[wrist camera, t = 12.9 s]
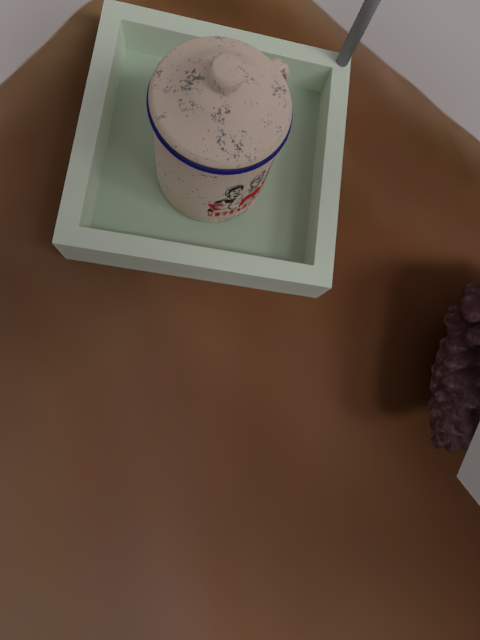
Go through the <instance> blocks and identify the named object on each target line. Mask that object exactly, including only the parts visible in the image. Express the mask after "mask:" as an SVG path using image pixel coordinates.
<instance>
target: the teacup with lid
mask: <svg viewBox="0 0 480 640" xmlns="http://www.w3.org/2000/svg"><path fill="white" fill-rule="evenodd" d="M288 76H289V67H288V65H287V64H286V63H285V62H284V61H283V60H281V59H279V58H275V59H272V60H270V59H269V58H268V57H267V56H266V55H265V54H263V53H262V52H261V51H259V50H258V49H256V48H255V47H253V46H251V45H249V44H247V43H245V42H242V41H239V40H236V39H233V38H228V37H221V36H206V37H199V38H195V39H191V40H188V41H186V42H184V43H182V44H180V45H178V46H176V47H175V48H173V49H172V50H171V51H170V52H168V53H167V54H166V55H165V56H164V57H163V58H162V60H161V61H160V62H159V64H158V65H157V67H156V68H155V70H154V72H153V75H152V77H151V79H150V82H149V85H148V89H147V97H146V104H147V112H148V117H149V120H150V124H151V126H152V128H153V136H154V147H155V158H156V169H157V178H158V182H159V185H160V188H161V190H162V192H163V194H164V196H165V197H166V198H167V200H168V201H169V202H170V203H171V204H172V205H173V206H174V207H175V208H176V209H177V210H178V211H180V212H181V213H183V214H184V215H186V216H188V217H190V218H193V219H196V220H199V221H203V222H224V221H228V220H231V219H234V218H236V217H238V216H240V215H242V214H243V213H245V212H246V211H247V210H248V209H249V208H250V207H251V206H252V205H253V204H254V203H255V201H256V200H257V198H258V196H259V194H260V192H261V190H262V187H263V185H264V182H265V180H266V178H267V175H268V173H269V171H270V168H271V166H272V164H273V161H274V159H275V157H276V155H277V153H278V152H279V151H280V150H281V148H282V147H283V146H284V144H285V142H286V140H287V138H288V136H289V133H290V130H291V125H292V117H293V110H292V100H291V95H290V91H289V88H288V86H287V83H286V82H287V79H288Z"/></svg>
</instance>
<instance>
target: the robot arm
mask: <svg viewBox="0 0 480 640" xmlns="http://www.w3.org/2000/svg"><path fill="white" fill-rule="evenodd" d="M457 478H458V479H459V480H460V482H461V483H462V484H463V485H464V487H465V488H466V489H467V490H468V492H469V493H470V494H471V495H472V497H473V498H474V499H475V500H476V502H477V503H478V504H479V505H480V422H479V424H478V427H477V429H476V431H475V434H474V436H473V439H472V441H471V443H470V446H469V448H468V450H467V453H466V455H465V458H464V460H463V462H462V465H461V467H460V469H459V472H458V474H457Z"/></svg>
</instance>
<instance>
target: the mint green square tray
mask: <svg viewBox="0 0 480 640" xmlns="http://www.w3.org/2000/svg"><path fill="white" fill-rule="evenodd" d="M380 1H381V0H365V1H364V3H363V5H362V7H361V9H360V11H359V13H358V16H357V18H356V20H355V22H354V24H353V26H352V28H351V30H350V32H349V34H348V36H347V38H346V40H345V42H344V45H343V47H342V49H341V51H340V53H337V52H333V51H329V50H325V49H320V48H316V47H312V46H307V45H303V44H299V43H295V42H290V41H286V40H282V39H278V38H273V37H269V36H265V35H260V34H256V33H252V32H248V31H243V30H239V29H235V28H231V27H226V26H222V25H218V24H213V23H209V22H205V21H201V20H196V19H192V18H188V17H184V16H179V15H175V14H171V13H166V12H162V11H158V10H154V9H149V8H145V7H141V6H137V5H132V4H128V3H124V2H119V1H115V0H104V4H103V8H102V13H101V18H100V22H99V27H98V31H97V36H96V41H95V45H94V50H93V55H92V59H91V64H90V69H89V73H88V78H87V82H86V87H85V92H84V96H83V101H82V106H81V110H80V115H79V119H78V124H77V129H76V133H75V138H74V143H73V147H72V152H71V157H70V161H69V166H68V170H67V175H66V180H65V184H64V189H63V194H62V198H61V203H60V207H59V212H58V217H57V221H56V226H55V231H54V235H53V240H52V244H53V245H54V246H55V247H56V248H57V249H58V251H59V252H60V253H61V254H62V255H63V256H64V258H65V259H71V260H77V261H83V262H90V263H96V264H102V265H109V266H115V267H122V268H128V269H134V270H141V271H147V272H153V273H160V274H166V275H172V276H179V277H185V278H191V279H198V280H204V281H210V282H217V283H223V284H229V285H236V286H242V287H248V288H255V289H261V290H267V291H274V292H280V293H286V294H293V295H299V296H305V297H312V298H318V297H319V296H321V295H322V294H324V293H325V292H327V291H328V290H330V289H331V288H332V279H333V267H334V255H335V243H336V232H337V220H338V208H339V196H340V184H341V173H342V161H343V149H344V137H345V125H346V114H347V102H348V90H349V78H350V66H351V57H352V55H353V53H354V51H355V49H356V47H357V45H358V43H359V41H360V39H361V37H362V35H363V34H364V32H365V30H366V28H367V26H368V24H369V22H370V20H371V18H372V16H373V14H374V12H375V10H376V9H377V6H378V5H379V3H380ZM206 36H221V37H228V38H233V39H236V40H239V41H242V42H245V43H247V44H249V45H251V46H253V47H255V48H256V49H258V50H259V51H261V52H262V53H263V54H265V55H266V56H267V57H268V58H269V59H270V60H272V59H275V58H279V59H281V60H283V61H284V62H285V63H286V64H287V65H288V67H289V76H288V79H287V82H286V83H287V86H288V88H289V91H290V95H291V100H292V110H293V117H292V125H291V130H290V133H289V136H288V138H287V140H286V142H285V144H284V146H283V147H282V148H281V150H280V151H279V152H278V153H277V155H276V157H275V159H274V161H273V164H272V166H271V168H270V171H269V173H268V175H267V178H266V180H265V182H264V185H263V187H262V190H261V192H260V194H259V196H258V198H257V200H256V201H255V203H254V204H253V205H252V206H251V207H250V208H249V209H248V210H247V211H246V212H245V213H243V214H242V215H240V216H238V217H236V218H234V219H231V220H228V221H224V222H203V221H199V220H196V219H193V218H190V217H188V216H186V215H184V214H183V213H181V212H180V211H178V210H177V209H176V208H175V207H174V206H173V205H172V204H171V203H170V202H169V201H168V200H167V198H166V197H165V196H164V194H163V192H162V190H161V188H160V185H159V182H158V178H157V169H156V158H155V147H154V136H153V128H152V126H151V124H150V120H149V117H148V112H147V104H146V97H147V89H148V85H149V82H150V79H151V77H152V75H153V72H154V70H155V68H156V67H157V65H158V64H159V62H160V61H161V60H162V58H163V57H164V56H165V55H166V54H167V53H168V52H170V51H171V50H172V49H173V48H175V47H176V46H178V45H180V44H182V43H184V42H186V41H188V40H191V39H195V38H199V37H206Z"/></svg>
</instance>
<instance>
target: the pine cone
mask: <svg viewBox="0 0 480 640" xmlns="http://www.w3.org/2000/svg"><path fill="white" fill-rule="evenodd" d="M462 297H463V298H462V299H461V301H460V304H458V305H452V306H449V308H448V310H447V315H445V317H444V322H445V324H446V326H447V333H448V336H447V337H445V338H443V339H442V340H440V345H439V346H440V350H439V351H438V352H437V354H436V361H435V363H434V364H433V365H432V367H431V371H432V377H431V379H430V381H431V384H430V390H431V392H432V393H431V395H430V401H429V403H428V406H429V409H430V411H431V418H430V420H429V422H430V426H431V432H432V434H433V437H432V438H431V441H432V443H433V445H434V446H435V447H436V448H437V449H440V450H441V449H442V448H445V449H447V450H448V452H452V453H455V451H456V449H457V448H459V447H460V448H462V449H463V450H468V448H469V446H470V443H471V441H472V439H473V436H474V434H475V431H476V429H477V427H478V424H479V422H480V285H479V284H475V283H468V284H467V285H466V286H465V287H464V289H463V292H462Z"/></svg>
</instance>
